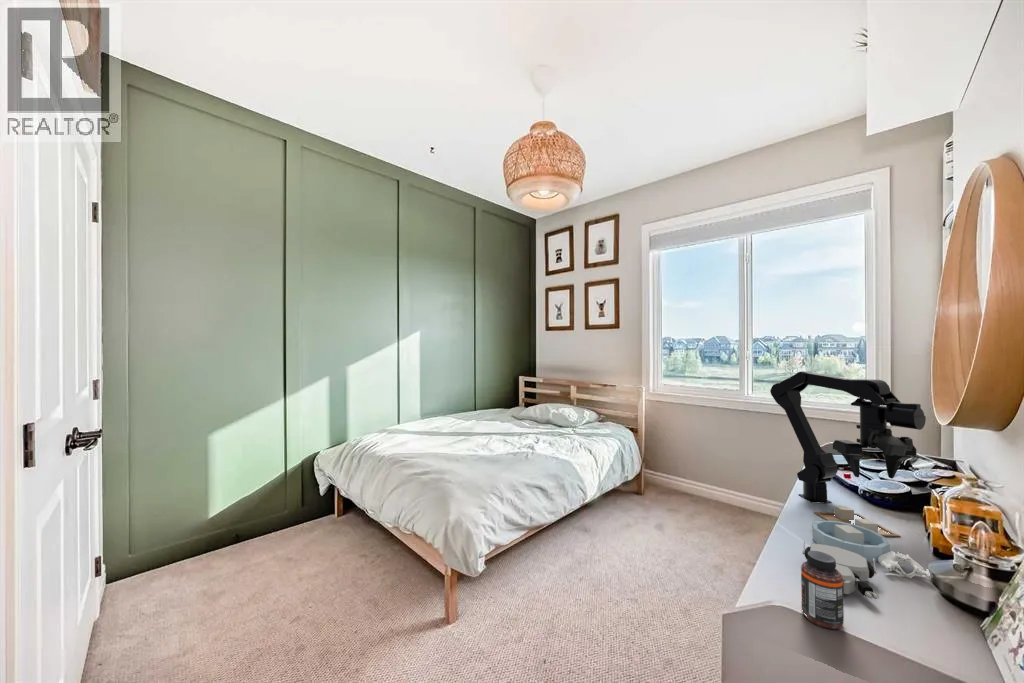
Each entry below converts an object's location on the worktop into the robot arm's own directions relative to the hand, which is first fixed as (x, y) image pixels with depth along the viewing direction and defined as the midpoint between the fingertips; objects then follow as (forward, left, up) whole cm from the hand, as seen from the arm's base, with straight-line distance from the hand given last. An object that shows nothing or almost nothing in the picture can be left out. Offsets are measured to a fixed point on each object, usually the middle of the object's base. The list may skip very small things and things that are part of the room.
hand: (873, 477), depth 113 cm
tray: (+5, -9, -12) cm, 16 cm away
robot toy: (+33, -33, -12) cm, 48 cm away
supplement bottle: (+46, -45, -12) cm, 65 cm away
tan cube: (0, -9, -12) cm, 14 cm away
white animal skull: (+29, -17, -12) cm, 36 cm away
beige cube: (+18, -20, -11) cm, 29 cm away
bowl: (+18, -20, -12) cm, 29 cm away
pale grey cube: (+9, -10, -12) cm, 18 cm away
